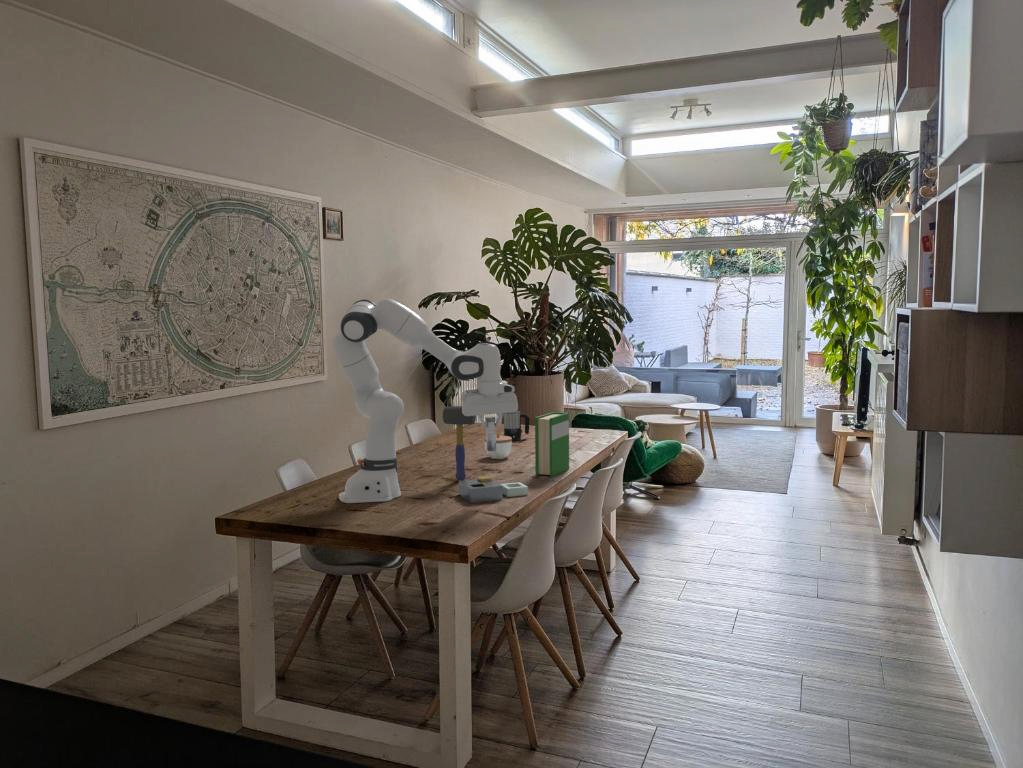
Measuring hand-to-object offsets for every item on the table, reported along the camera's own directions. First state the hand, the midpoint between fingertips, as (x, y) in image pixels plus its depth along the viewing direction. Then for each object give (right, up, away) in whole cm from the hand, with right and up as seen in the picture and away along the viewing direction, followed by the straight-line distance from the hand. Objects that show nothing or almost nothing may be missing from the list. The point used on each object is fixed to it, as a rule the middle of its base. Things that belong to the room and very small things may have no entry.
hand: (490, 426), depth 277 cm
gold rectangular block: (-2, -25, +9) cm, 27 cm away
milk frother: (+8, -14, +129) cm, 130 cm away
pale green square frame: (+8, -25, +8) cm, 28 cm away
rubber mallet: (-13, -24, +30) cm, 40 cm away
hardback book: (+25, -22, +44) cm, 55 cm away
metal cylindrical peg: (0, -9, +1) cm, 9 cm away
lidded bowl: (+1, -19, +77) cm, 79 cm away
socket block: (-4, -26, +4) cm, 26 cm away
